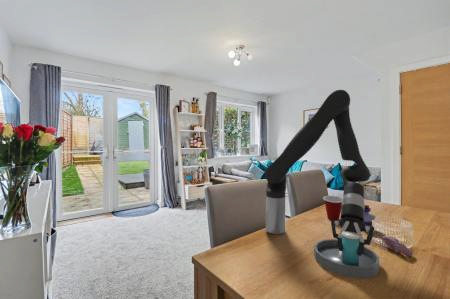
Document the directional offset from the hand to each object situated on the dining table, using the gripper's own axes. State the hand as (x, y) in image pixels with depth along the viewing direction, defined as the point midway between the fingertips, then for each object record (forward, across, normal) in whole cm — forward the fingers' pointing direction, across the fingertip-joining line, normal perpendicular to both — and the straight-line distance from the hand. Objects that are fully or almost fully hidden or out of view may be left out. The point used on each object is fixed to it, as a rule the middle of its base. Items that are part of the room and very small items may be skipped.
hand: (350, 252), depth 75 cm
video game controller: (-13, +14, +24) cm, 31 cm away
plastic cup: (-33, -12, +43) cm, 55 cm away
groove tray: (0, -2, +10) cm, 10 cm away
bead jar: (+2, 0, +4) cm, 5 cm away
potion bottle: (-28, +4, +38) cm, 47 cm away
